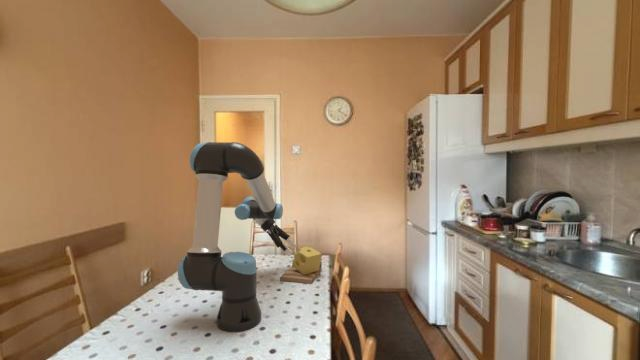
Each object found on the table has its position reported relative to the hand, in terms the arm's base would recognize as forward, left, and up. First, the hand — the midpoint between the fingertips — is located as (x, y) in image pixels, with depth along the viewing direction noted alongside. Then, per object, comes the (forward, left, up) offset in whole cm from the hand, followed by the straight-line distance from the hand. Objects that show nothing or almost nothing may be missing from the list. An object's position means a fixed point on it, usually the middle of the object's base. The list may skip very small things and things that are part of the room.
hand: (293, 251), depth 150 cm
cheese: (+1, -6, -9) cm, 11 cm away
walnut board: (0, -5, -12) cm, 13 cm away
